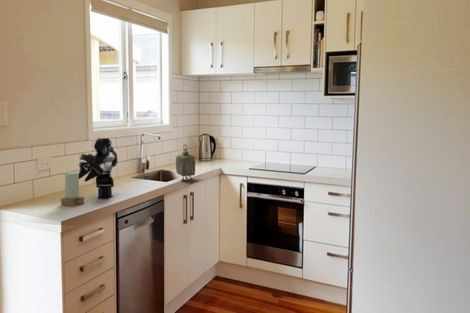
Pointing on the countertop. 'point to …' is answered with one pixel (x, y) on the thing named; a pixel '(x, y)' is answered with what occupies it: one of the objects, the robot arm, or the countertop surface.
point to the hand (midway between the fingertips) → (81, 180)
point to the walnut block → (72, 201)
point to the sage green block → (72, 185)
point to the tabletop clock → (185, 164)
